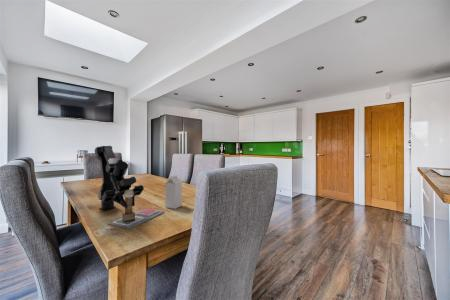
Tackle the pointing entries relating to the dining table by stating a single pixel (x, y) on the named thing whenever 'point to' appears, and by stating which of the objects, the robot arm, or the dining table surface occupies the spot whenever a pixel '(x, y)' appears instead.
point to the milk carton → (173, 193)
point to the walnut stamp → (128, 206)
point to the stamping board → (137, 218)
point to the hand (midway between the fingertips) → (130, 206)
